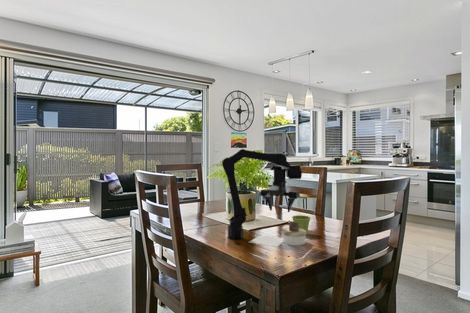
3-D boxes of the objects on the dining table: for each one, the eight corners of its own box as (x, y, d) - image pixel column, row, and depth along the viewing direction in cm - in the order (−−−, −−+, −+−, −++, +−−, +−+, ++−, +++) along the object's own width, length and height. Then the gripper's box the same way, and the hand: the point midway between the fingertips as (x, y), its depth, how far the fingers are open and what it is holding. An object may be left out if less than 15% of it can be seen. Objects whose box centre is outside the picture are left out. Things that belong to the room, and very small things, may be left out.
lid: (278, 234, 137) (278, 223, 137) (286, 229, 147) (286, 218, 147) (302, 237, 132) (302, 225, 132) (309, 232, 141) (309, 221, 141)
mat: (248, 243, 139) (248, 242, 139) (261, 236, 151) (261, 235, 151) (276, 248, 132) (276, 246, 132) (287, 240, 144) (287, 238, 144)
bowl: (279, 244, 138) (279, 234, 138) (287, 238, 146) (287, 229, 146) (301, 247, 133) (301, 237, 133) (307, 241, 141) (307, 232, 141)
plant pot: (313, 236, 151) (313, 218, 151) (295, 237, 150) (295, 219, 150) (306, 231, 161) (306, 215, 161) (289, 232, 159) (289, 215, 159)
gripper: (255, 179, 146) (255, 212, 146) (292, 181, 136) (292, 216, 137) (264, 178, 155) (264, 208, 156) (300, 179, 146) (300, 211, 146)
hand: (279, 211), depth 148 cm, fingers open, 9 cm apart
